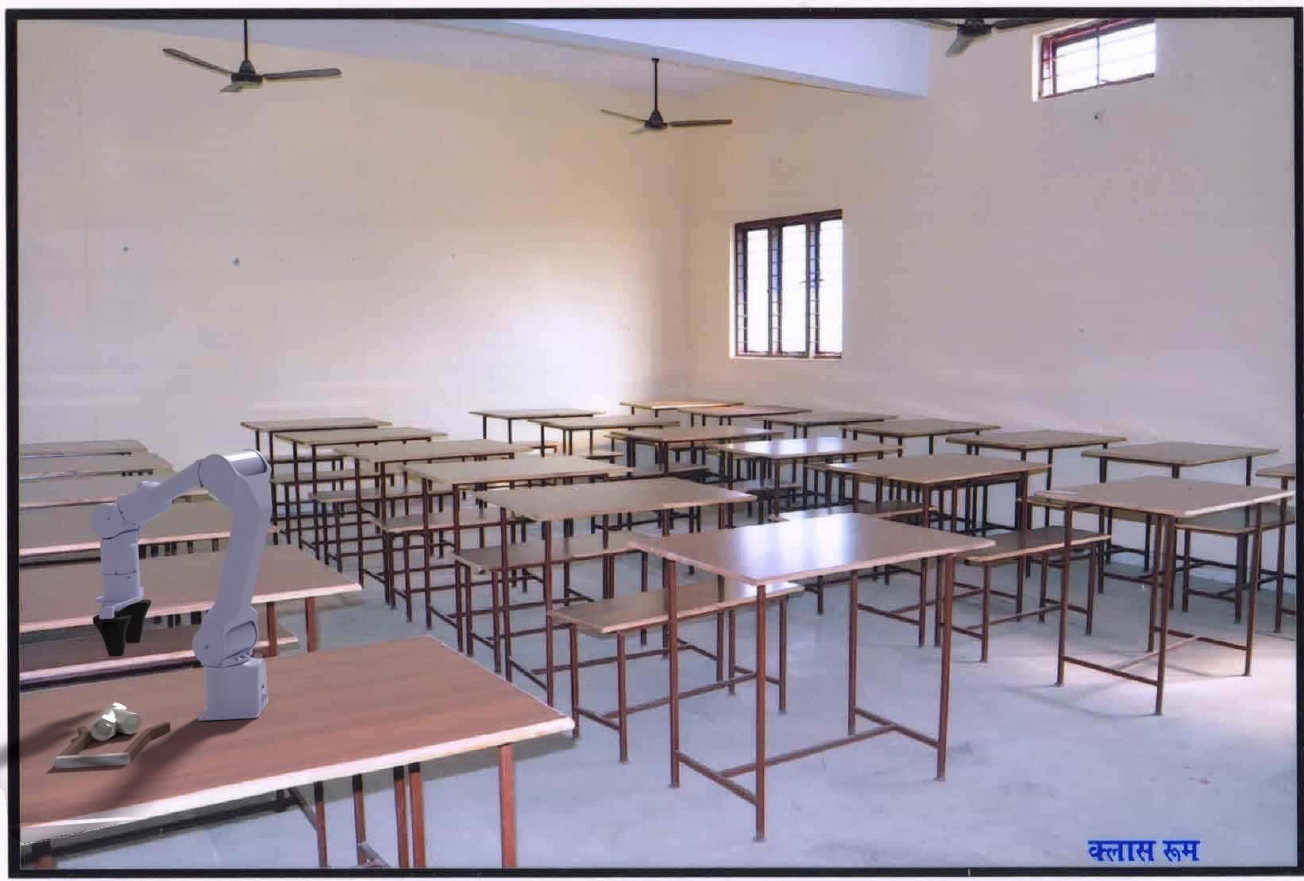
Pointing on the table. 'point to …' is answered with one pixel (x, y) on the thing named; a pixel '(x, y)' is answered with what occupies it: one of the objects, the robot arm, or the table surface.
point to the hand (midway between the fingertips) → (124, 649)
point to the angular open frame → (109, 759)
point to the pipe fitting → (115, 722)
